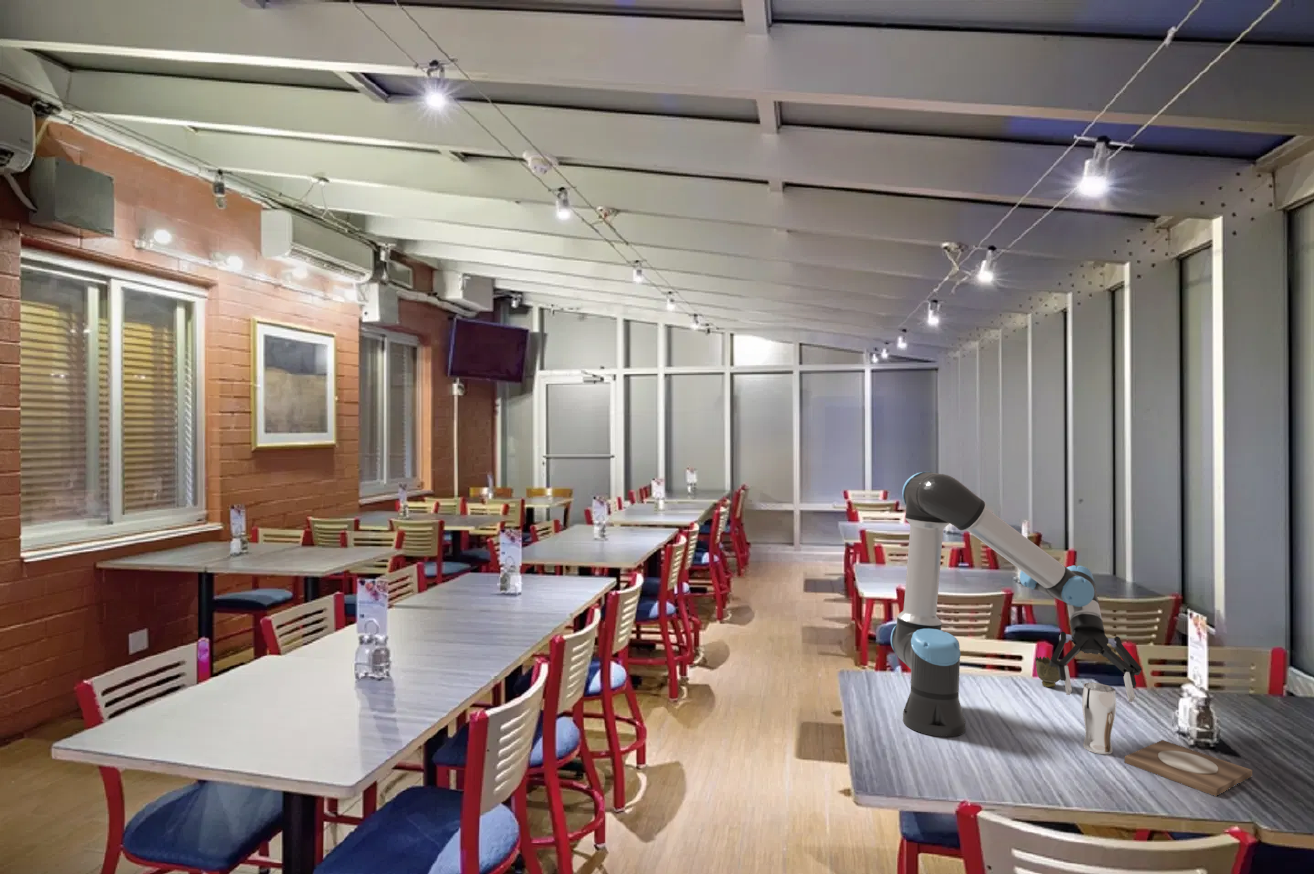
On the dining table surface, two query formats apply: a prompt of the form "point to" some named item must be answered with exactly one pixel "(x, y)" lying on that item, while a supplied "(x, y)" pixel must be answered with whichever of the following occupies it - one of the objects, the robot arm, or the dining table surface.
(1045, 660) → the cup
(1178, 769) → the serving board
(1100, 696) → the beer glass
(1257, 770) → the dining table surface
